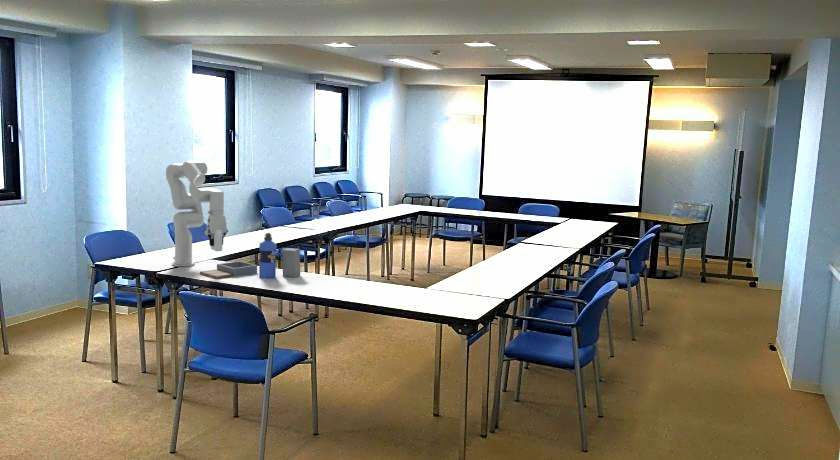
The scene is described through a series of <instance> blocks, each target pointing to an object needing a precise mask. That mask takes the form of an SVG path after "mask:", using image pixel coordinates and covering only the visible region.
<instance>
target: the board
mask: <svg viewBox="0 0 840 460" xmlns="http://www.w3.org/2000/svg"><path fill="white" fill-rule="evenodd" d="M199 274H200V275H201V276H205V277H209V278H212V279H215V280H219V279H221V280H222V279H225V278H226V279H227V278H233V276H232V274H230V273H226V272H223V271H219V270H217V268H216V269H211V270H210V269H209V270H208V269H207V270H201V271H199Z"/></svg>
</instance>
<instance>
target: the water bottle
mask: <svg viewBox="0 0 840 460" xmlns="http://www.w3.org/2000/svg"><path fill="white" fill-rule="evenodd" d="M263 238H264V241H262V242H259V255H260V257H259V267H258V268H259V269H258V271H259V272H258V276H259V279H263V278H272V279H275V278H276V274H277V273H276V271H277V269H276V268H277V267H276V266H277V261H276V254H277V243H276V242H274V241H273V237H272V234H271V233H270V232H266V233H265V234H264V237H263ZM274 277H275V278H274Z"/></svg>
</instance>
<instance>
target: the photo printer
mask: <svg viewBox="0 0 840 460" xmlns="http://www.w3.org/2000/svg"><path fill="white" fill-rule="evenodd" d="M213 239H214V246H210V249H211V250H213V251H214V252H221V251H223V245H222V231H221V230H220V229H219V230H216V232H215V234H214V237H213Z"/></svg>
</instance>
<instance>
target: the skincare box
mask: <svg viewBox="0 0 840 460" xmlns="http://www.w3.org/2000/svg"><path fill="white" fill-rule="evenodd" d="M281 252H282V254H281V257H282V277H286V276H291V277H290V278H297V277H299V276H301V255H300V254H301V253H300V252H301V249H300V248H293V247H291V248H290V247H286V248H284V249H282V250H281Z"/></svg>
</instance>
